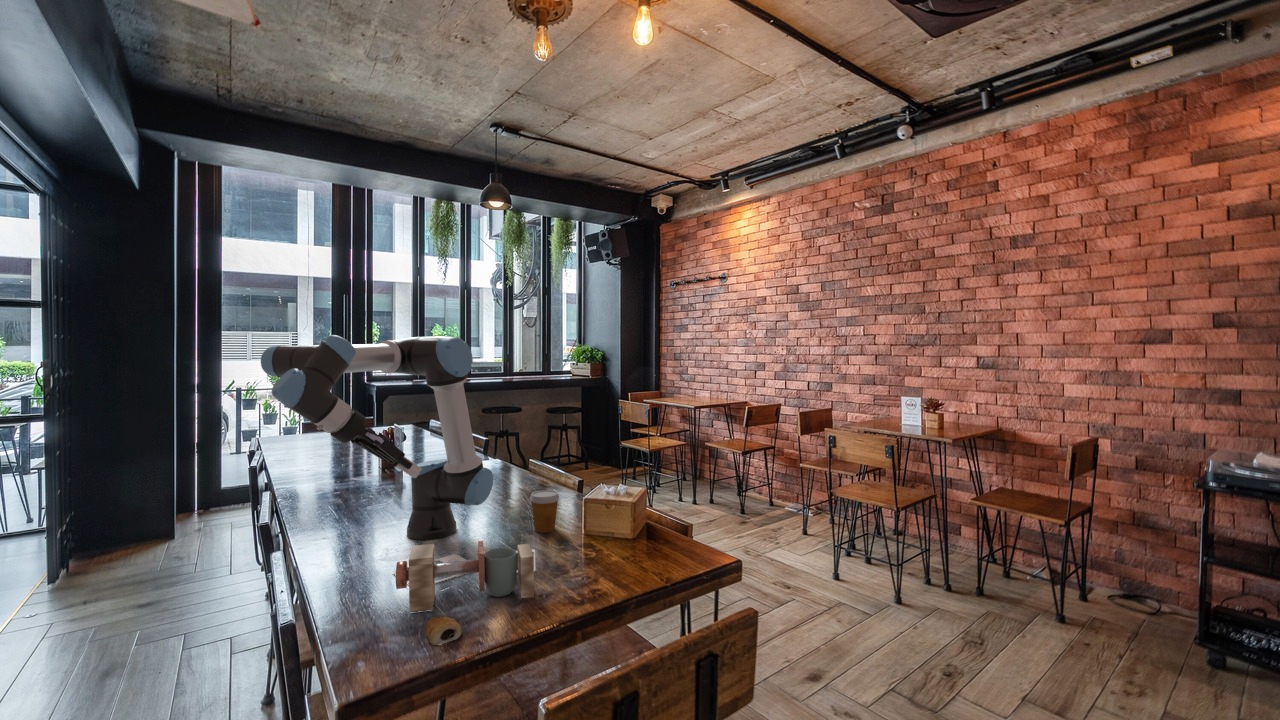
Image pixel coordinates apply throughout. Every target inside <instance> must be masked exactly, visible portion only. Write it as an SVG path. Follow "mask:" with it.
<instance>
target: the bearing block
mask: <svg viewBox="0 0 1280 720" xmlns="http://www.w3.org/2000/svg"><path fill="white" fill-rule="evenodd" d="M434 560H435V543H428V544H427V543H426V544H418V545H412V546H411V549H410V552H409V557H408V567H409V585H408V593H409V594H408V597H409V606H408V607H409V613H410V612H418V611H426V610H432V609H433V610H434V607H433V605H434V604H435V598H436V597H435V595H436V584H435V581H436V579H435V578H433V564H435V562H434ZM434 597H435V598H434Z"/></svg>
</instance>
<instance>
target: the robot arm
mask: <svg viewBox="0 0 1280 720" xmlns="http://www.w3.org/2000/svg"><path fill="white" fill-rule="evenodd" d="M473 360H474V359H473V353H472V351H471V348H470V346H469V345H468V343H467V342H466V341H465V340H463V339H462V338H460V337H457V336H448V335H443V336H442V335H440V336H437V335H435V336H413V337H407V338H401V339H400V338H399V339H387V340H383V341H381V342H380V343H366V344H364V343H363V344H362V343H359V344H352V343H351V342H350V341H349V340H347V339H346V338H343V336H340V335H336V334H331V335H328V336H326V337H325V338H324V339H323V340H322V341H321V342H320V344H317V345H315V344H314V345H313V344H309V345H285V344H280V345H274V346H273V345H272V346H269V347H268V348H266V349H265V350H264V351H263V353H262V354H261V357H260V366H261V369H262V370H263V372H264V373H265V374H267V375H268V376H271V377H276V378H278V379H277V380H276V382H275V383H274V384H273V386H272V388H271V395H272V396H273V398H274V399H276V400H277V401H278V402H280V404H282V405H283V406H285V408H287V409H290V410H291V411H293V412H295V413H296V414H298V415H299V416H301V417H303V418H304V419H306V420H307V421H309V422H310V423H311V424H313V425H315V426H317V427H316V430H318V431H321V430H322V431H324V432H325V433H327V434H330V436H331V437H332V438H334V439H335V440H337V441H339V442H340V443H341V444H346V443H350V442H351V443H352V444H354V445H356V446H359V447H360V448H362V449H363V450H365V451H367V452H368V453H370V454H372V455H373V456H375V457H377V458H379V459H380V460H382V461H383V462H384V463H387V462H388V463H389V464H392V466H393V467H395V468H396V467H397V468H398V469H400V470H401V471H402V472H404V473H405V474H407V475H408V476H409V477H410V480H411V504H412V509H411V514H410V517H409V521H408V524H407V527H406V536H407V537H408V538H410V539H412V540H418V541H419V540H420V541H425V540H428V541H429V540H436V539H441V538H442V539H443V538H446V537H448V536H450V535H451V536H452V535H453V534H454V533H456V532H457V521H456V519H455V515H454V513H453V510H452V508H451V507H452V505H451V504H456V505H466V506H479V505H482V504H483V503H484V502H486V501H487V499H488V498H489V496H490V494H491V491H492V489H493V487H494V474H493V472H492V470H491V469H490V468H488V467H484V464H483V460H482V457H481V456H479V455H477V453H476V448H475V441H474V437H473V432H472V431H473V430H472V425H471V420H470V414H469V409H468V403H467V398H466V392H465V387H464V384H465V382H466V380H467V379H468V374H469V373H470V371H471V370H472V368H473V367H472V365H473V363H474V362H473ZM378 371H379V372H380V371H381V372H382V373H384V374H404V375H410V376H411V375H413V376H424V377H425V380H426V385H427V387H429V388H431V389H432V390H433V392H434V394H433V395H434V398H435V402H436V408H437V412H438V413H437V415H438V418H439V423H440V429H441V434H442V437H443V438H442V440H443V444H444V448H445V454H446V458H443V459H442V458H441V459H434V460H433V459H432V460H428V461H424V462H420V463H417V464H416V463H415V462H413V461H412V460H411V459H409V458H407V457H406V453H405V452H404V451H402V450H401V449H399V448H398V447H397V446H396V445H395V444H394V443H392V442H391V441H390V440H389V439H387V437H386V436H385V435H384V434H383V433H379V434H378V433H376V431H375V430H374V429H372V428H370V427H368V428H367V427H365V426H366V421H367V418H366V416H364V414H362V413H360V412H359V411H358V410H356V409H355V408H352V406H351V405H350V404H348V403H347V402H345V401H344V400H342V399H341V398H340V397H339V396H337V395H336V394H334V393H332V389H333V388H334V387H335V385H336V383H337V382H338V381H339V379H340V378H341V377H342V375H343V374H350V373H361V372H362V373H363V372H365V373H366V372H378Z"/></svg>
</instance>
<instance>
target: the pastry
mask: <svg viewBox="0 0 1280 720" xmlns="http://www.w3.org/2000/svg"><path fill="white" fill-rule="evenodd" d="M462 633H463V630H462V627H461V624H460V623H458V622H457V621H456V620H455V618H452V617H451V618H450V617H448V616H435V617H432V618H430V619H429V620H428V621H427V622H426V627H425V635H426V638H428V640H429V643H430V644H431V643H432V644H431V645H432V646H433V645H438V644H443V643H446V644H448V643H447V642H449V641H451V642H454V641H456V640H458V639H459V638H460V637H461V636H462ZM453 640H454V641H453ZM449 643H450V642H449Z"/></svg>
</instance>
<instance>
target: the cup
mask: <svg viewBox="0 0 1280 720" xmlns="http://www.w3.org/2000/svg"><path fill="white" fill-rule="evenodd" d="M516 551H517V550H515V549H514V548H511V547H496V548H491V549H488V550H487V551H484V569H485V589H486V591H487V592H488V594H489V595H490V596H492V597H495V598H500V597H506V596H508V595H510V594H511V593H512V592H513V591H514V589H515V587H516V584H517V578H518V573H517V554H516Z"/></svg>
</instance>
